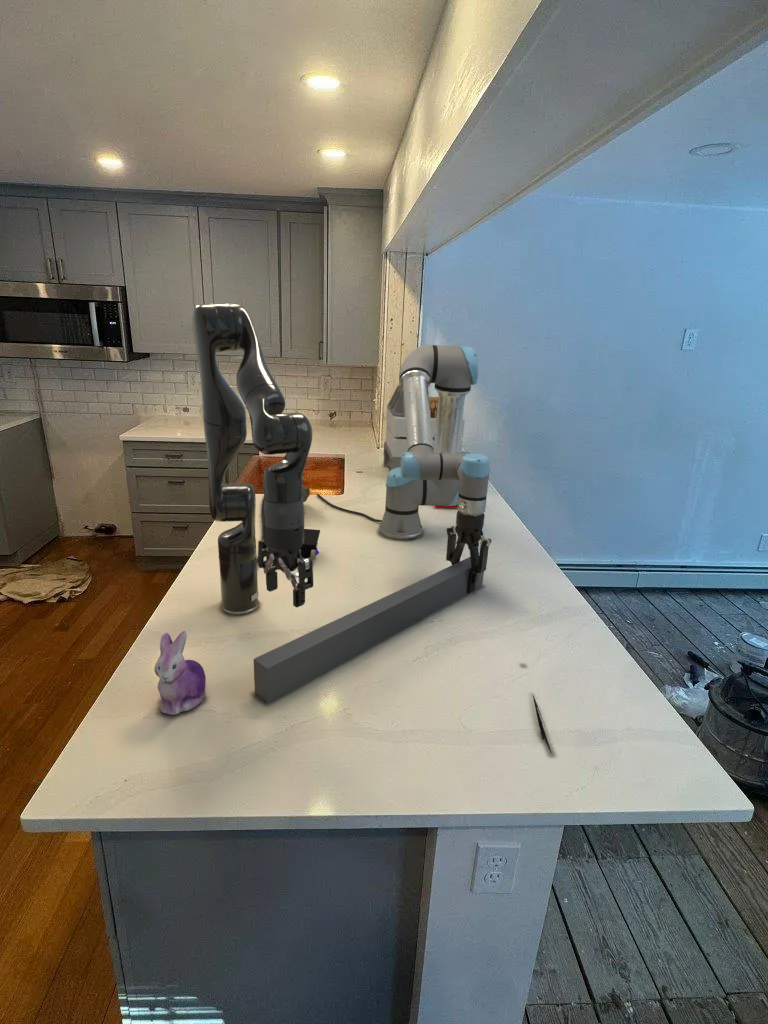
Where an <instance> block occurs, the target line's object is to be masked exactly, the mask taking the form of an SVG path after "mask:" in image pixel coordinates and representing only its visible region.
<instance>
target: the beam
mask: <svg viewBox="0 0 768 1024" xmlns="http://www.w3.org/2000/svg"><path fill="white" fill-rule="evenodd" d="M471 571H472V568H471V558H470V556H469V557H467V558H464V559H463V560H462V559H461V560H460V562H458V563H456V564H454V565H452V564H451V565H450V566H447V567H445V568H443V569H441V570H439V571H436V572H435V573H433V574H430V575H429V576H426V577H424V578H422V579H420V580H418V581H415V582H414V583H411V584H409V585H407V586H405V587H402V588H400V589H399V590H397V591H394V592H392V593H391V594H387V595H386V596H383V597H381V598H379V599H377V600H376V601H373V602H371V603H369V604H367V605H365V606H363V607H361V608H358V609H356V610H354V611H352V612H350V613H347V614H345V615H344V616H342V617H339V618H337V619H335V620H333V621H330V622H328V623H327V624H325V625H323V626H320V627H318V628H315V629H314V630H312V631H310V632H307V633H305V634H303V635H302V636H299V637H297V638H295V639H292V640H290V641H289V642H286V643H284V644H282V645H280V646H278V647H276V648H273V649H271V650H269V651H267V652H265V653H263V654H261V655H259V656H256V657H254V658H253V659H252V660H253V676H254V677H253V681H254V683H253V684H254V694H255V695H257V696H258V697H259V698H260V699H262V700H263V701H264V702H265V703H267V704H271V703H272V702H274V701H276V700H278V699H279V698H281V697H283V696H285V695H287V694H289V693H291V692H292V691H294V690H296V689H297V688H300V687H301V686H303V685H305V684H306V683H308V682H310V681H313V680H314V679H316V678H317V677H319V676H321V675H324V674H325V673H327V672H328V671H330V670H332V669H334V668H336V667H338V666H340V665H341V664H343V663H345V662H347V661H348V660H351V659H352V658H354V657H356V656H358V655H360V654H361V653H363V652H365V651H367V650H369V649H371V648H373V647H374V646H376V645H378V644H380V643H382V642H383V641H385V640H387V639H389V638H391V637H392V636H394V635H396V634H398V633H400V632H402V631H403V630H406V629H407V628H408V627H409V628H410V627H411V626H413V625H414V624H416V623H418V622H420V621H422V620H423V619H425V618H428V617H429V616H431V615H433V614H435V613H437V612H438V611H440V610H442V609H444V608H446V607H448V606H449V605H451V604H452V603H455V602H456V601H459V600H460V599H462V598H463V597H465V596H468V595H469V594H468V593H467V589H468V579H469V572H471ZM484 575H485V571H484V572H482V573H479V578H478V582H477V583H476V584H475V591H476V590H478V589H480V588H482V587H483V585H484V584H483V583H484Z"/></svg>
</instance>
